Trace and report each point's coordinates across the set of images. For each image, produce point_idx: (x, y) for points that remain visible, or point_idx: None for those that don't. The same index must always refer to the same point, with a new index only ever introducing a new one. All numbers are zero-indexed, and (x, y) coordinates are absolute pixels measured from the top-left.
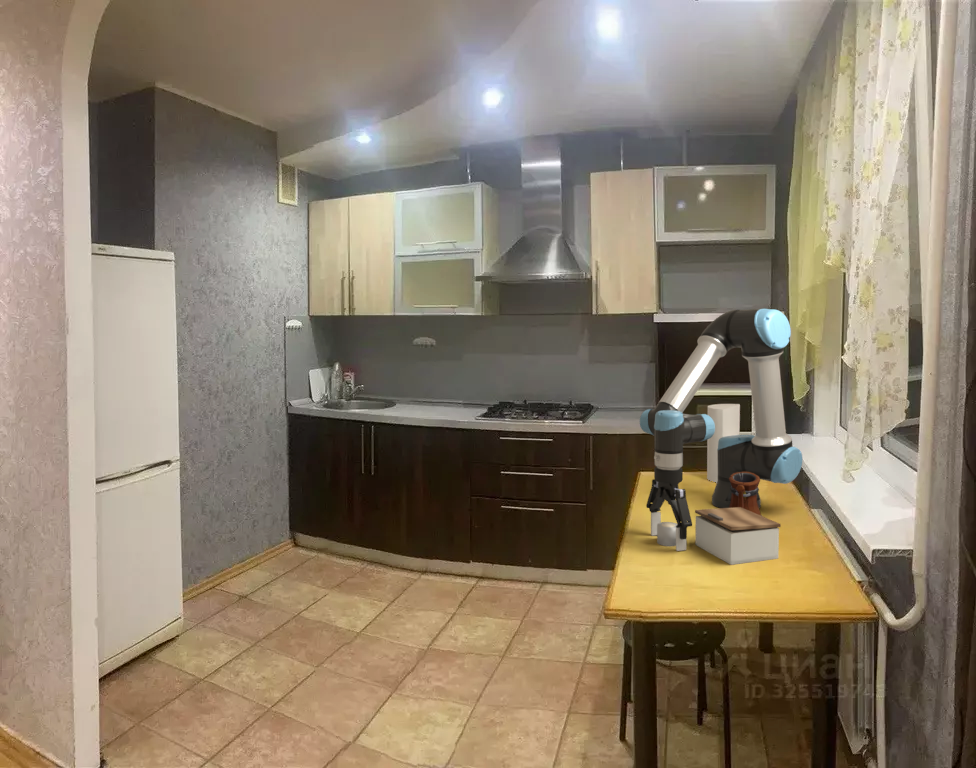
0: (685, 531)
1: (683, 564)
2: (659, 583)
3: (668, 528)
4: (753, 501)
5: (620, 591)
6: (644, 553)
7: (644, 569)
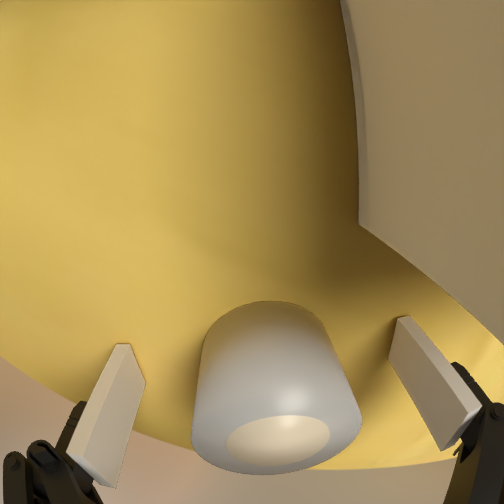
0: (479, 396)
1: (478, 359)
2: None
3: (342, 448)
4: None
5: None
6: None
7: (432, 437)
